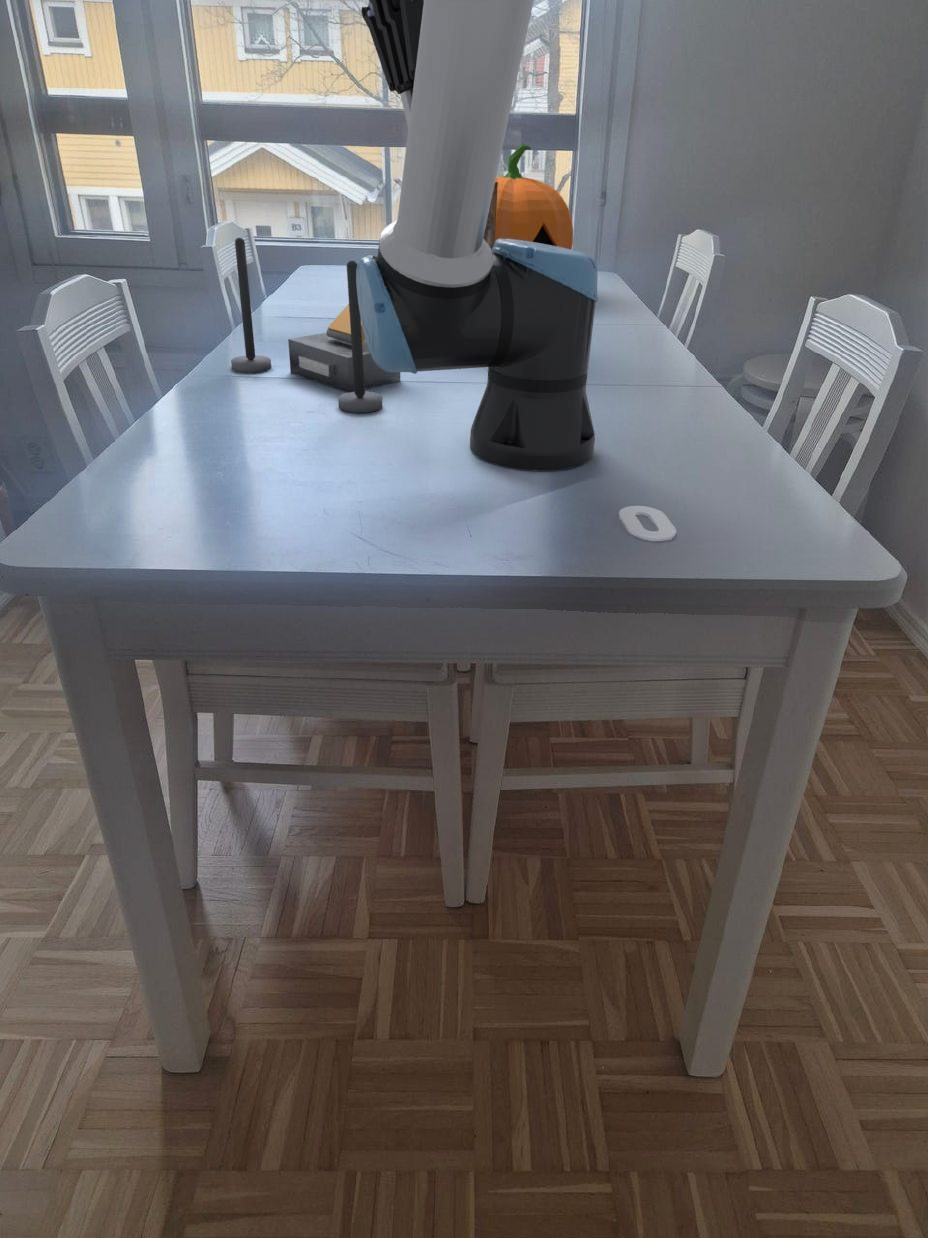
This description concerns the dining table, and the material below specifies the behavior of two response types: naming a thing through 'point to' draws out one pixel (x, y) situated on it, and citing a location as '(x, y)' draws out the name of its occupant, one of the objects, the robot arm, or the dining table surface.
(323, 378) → the block
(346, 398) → the stand
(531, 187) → the jack-o'-lantern
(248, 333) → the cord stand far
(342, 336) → the orange rectangular prism
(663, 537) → the chain link
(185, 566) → the dining table surface
